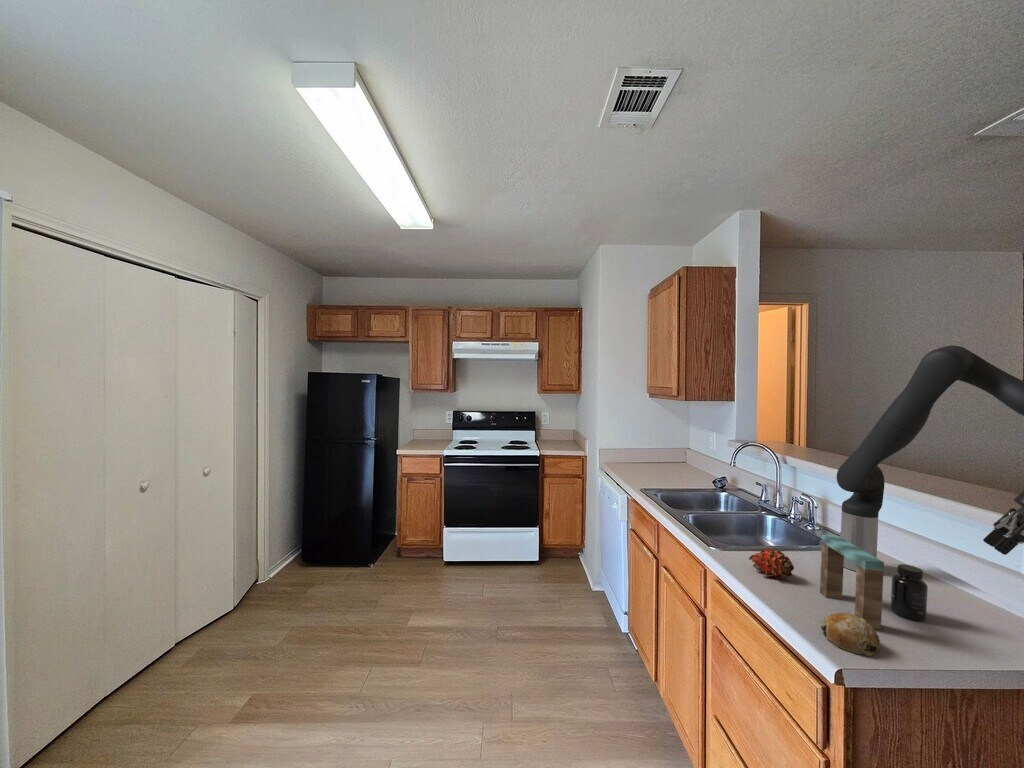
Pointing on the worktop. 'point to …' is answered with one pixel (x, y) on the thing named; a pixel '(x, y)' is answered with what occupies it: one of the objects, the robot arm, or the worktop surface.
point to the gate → (866, 577)
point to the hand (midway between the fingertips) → (993, 547)
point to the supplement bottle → (909, 593)
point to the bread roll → (850, 633)
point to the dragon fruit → (772, 563)
